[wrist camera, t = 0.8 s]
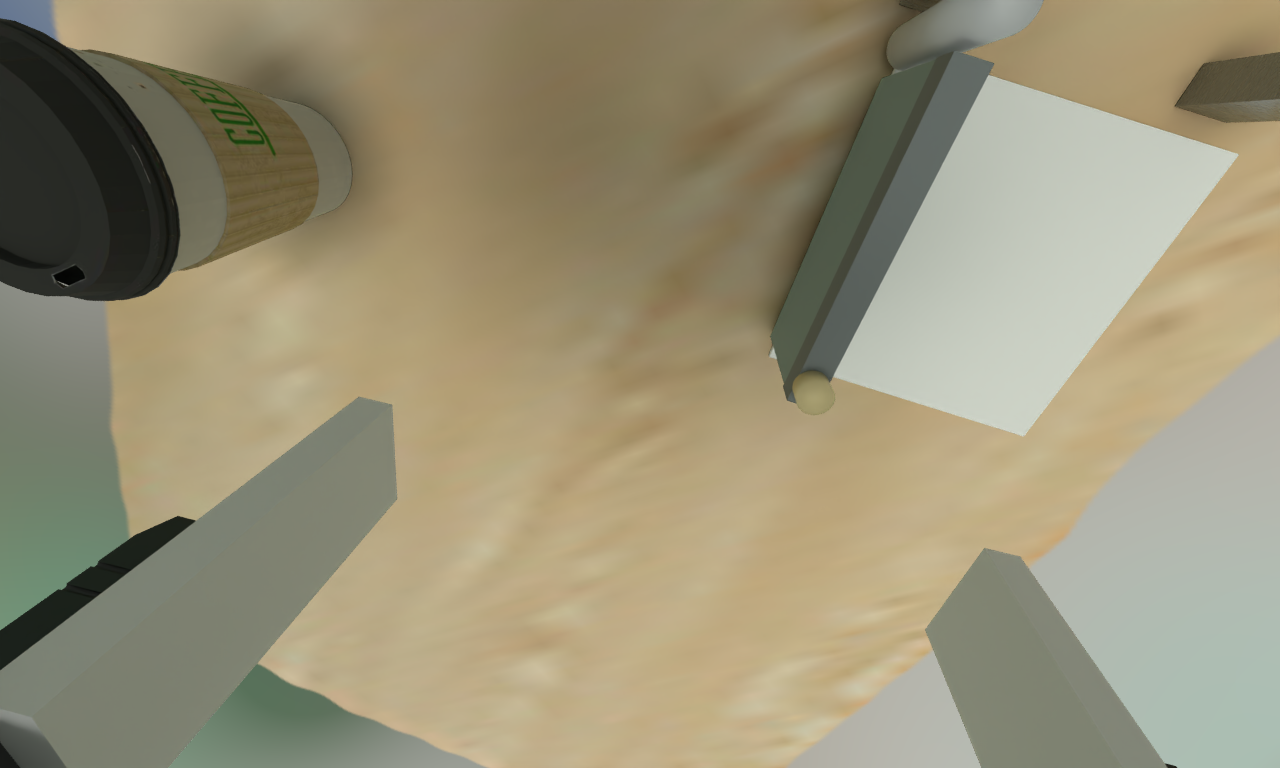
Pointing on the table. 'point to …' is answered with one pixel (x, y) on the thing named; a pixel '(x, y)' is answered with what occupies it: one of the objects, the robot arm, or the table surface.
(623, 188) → the table surface
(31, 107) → the coffee cup
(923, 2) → the hinge post
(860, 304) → the gate
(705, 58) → the table surface
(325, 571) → the robot arm
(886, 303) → the mat
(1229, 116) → the post
